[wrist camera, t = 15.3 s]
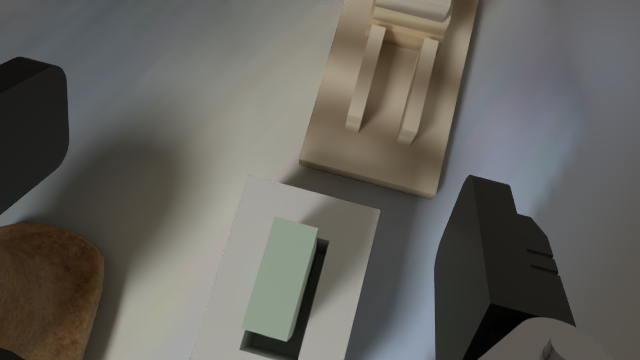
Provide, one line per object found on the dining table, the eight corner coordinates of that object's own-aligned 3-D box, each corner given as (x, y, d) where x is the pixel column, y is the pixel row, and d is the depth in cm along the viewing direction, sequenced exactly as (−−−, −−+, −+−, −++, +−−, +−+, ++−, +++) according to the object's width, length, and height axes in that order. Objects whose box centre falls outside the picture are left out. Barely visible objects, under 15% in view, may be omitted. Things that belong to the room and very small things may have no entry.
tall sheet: (294, 333, 37) (286, 341, 23) (265, 325, 37) (240, 328, 23) (314, 261, 38) (318, 228, 24) (286, 253, 38) (274, 216, 24)
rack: (431, 199, 40) (446, 184, 36) (299, 164, 41) (298, 145, 36) (477, -10, 45) (496, -46, 40) (358, -40, 45) (363, -78, 41)
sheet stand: (323, 404, 37) (327, 426, 29) (208, 371, 37) (181, 385, 29) (366, 231, 39) (380, 209, 32) (259, 202, 40) (247, 174, 32)
